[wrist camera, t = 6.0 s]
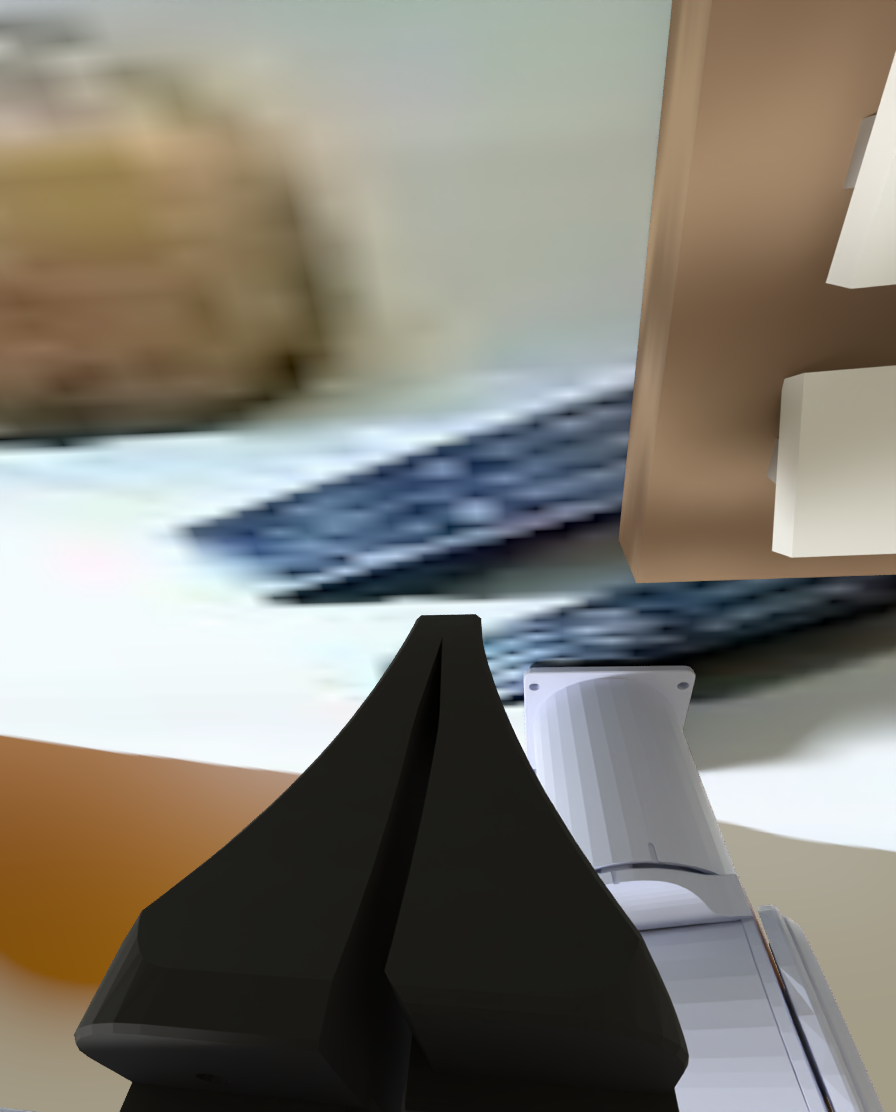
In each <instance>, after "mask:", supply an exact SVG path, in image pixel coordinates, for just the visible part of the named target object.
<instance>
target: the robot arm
mask: <svg viewBox="0 0 896 1112" xmlns="http://www.w3.org/2000/svg"><path fill="white" fill-rule="evenodd" d="M682 682H683V683H682ZM694 682H695V673H694V671H693V669H692V668H691V667H689V666H616V667H537V668H529V669H527V670H526V671H525V672H524V706H525V741H526V755H525V753H524V751H523V749H522V747H521V745H520V743H519V741H518V739H517V737H516V734H515V732H514V730H513V728H512V726H511V723H510V721H509V719H508V716H507V714H506V712H505V709H504V707H503V705H502V702H501V699H500V697H499V694H498V692H497V689H496V686H495V683H494V680H493V677H492V674H491V671H490V668H489V665H488V662H487V658H486V654H485V650H484V646H483V639H482V626H481V618H480V617H478V616H477V615H476V614H465V615H421V616H420V617H419V618H418V619H417V620H416V622H415V624H414V626H413V628H412V629H411V631H410V633H409V635H408V637H407V638H406V640H405V642H404V643H403V645H402V647H401V648H400V650H399V651H398V653H397V655H396V656H395V658H394V659H393V661H392V663H391V664H390V665H389V667H388V668H387V670H386V671H385V673H384V674H383V676H382V677H381V679H380V680H379V682H378V683H377V685H376V686H375V688H374V689H373V690H372V692H371V693H370V694H369V696H368V697H367V698H366V700H365V701H364V702H363V704H362V705H361V706H360V708H359V709H358V710H357V712H356V713H355V714H354V716H353V717H352V718H351V719H350V721H349V722H348V723H347V724H346V726H345V727H344V728H343V729H342V730H341V732H340V733H339V734H338V735H337V736H336V738H335V739H334V740H333V741H332V742H331V743H330V744H329V746H328V747H327V748H326V749H325V750H324V751H323V752H322V753H321V755H320V756H319V757H318V758H317V759H316V760H315V761H314V762H313V763H312V764H311V765H310V766H309V767H308V768H307V769H306V770H305V771H304V772H303V774H302V775H301V776H300V777H299V778H298V779H297V780H296V781H295V782H294V783H293V784H292V785H291V786H290V787H289V788H288V789H287V790H286V791H285V792H284V793H283V794H282V795H281V796H280V797H279V798H278V799H277V800H275V801H274V802H273V803H272V804H271V805H270V806H269V807H268V808H267V809H266V810H265V811H264V812H262V813H261V814H260V815H259V816H258V817H257V818H256V819H254V820H253V821H252V822H251V823H250V824H249V825H248V826H247V827H245V828H244V829H243V830H242V831H241V832H240V833H239V834H238V835H236V836H235V837H234V838H233V839H232V840H231V841H230V842H229V843H227V844H226V845H225V846H224V847H223V848H222V849H220V850H219V851H218V852H217V853H216V854H214V855H213V856H212V857H211V858H209V859H208V860H207V861H206V862H204V863H203V864H202V865H201V866H199V867H198V868H197V869H196V870H194V871H193V872H192V873H190V874H189V875H188V876H187V877H185V878H184V879H183V880H181V881H180V882H179V883H178V884H176V885H175V886H174V887H173V888H171V889H170V890H169V891H168V892H166V893H165V894H164V895H162V896H161V897H160V898H159V899H157V900H156V901H154V902H153V903H152V904H151V905H149V906H148V907H146V908H145V909H144V910H142V912H141V913H140V915H139V917H138V918H137V920H136V922H135V924H134V925H133V927H132V928H131V930H130V932H129V933H128V935H127V936H126V938H125V939H124V941H123V943H122V945H121V947H120V948H119V950H118V952H117V954H116V956H115V958H114V960H113V961H112V964H111V965H110V967H109V969H108V971H107V973H106V975H105V977H104V979H103V980H102V982H101V984H100V987H99V988H98V990H97V992H96V994H95V996H94V998H93V999H92V1001H91V1003H90V1005H89V1007H88V1009H87V1011H86V1013H85V1015H84V1017H83V1018H82V1020H81V1022H80V1024H79V1026H78V1028H77V1030H76V1032H75V1034H74V1036H75V1041H76V1044H77V1046H78V1048H79V1050H80V1051H81V1052H83V1053H84V1054H86V1055H87V1056H88V1057H90V1058H91V1059H93V1060H95V1061H97V1062H98V1063H100V1064H102V1065H104V1066H106V1067H107V1068H109V1069H111V1070H113V1071H114V1072H116V1073H118V1074H119V1075H121V1076H123V1077H125V1078H126V1079H128V1080H130V1081H132V1085H131V1087H130V1089H129V1091H128V1094H127V1096H126V1098H125V1101H124V1103H123V1105H122V1107H121V1110H120V1112H884V1110H883V1108H882V1106H881V1103H880V1101H879V1098H878V1096H877V1094H876V1091H875V1089H874V1087H873V1084H872V1082H871V1080H870V1077H869V1075H868V1073H867V1070H866V1068H865V1066H864V1064H863V1062H862V1059H861V1057H860V1055H859V1052H858V1050H857V1048H856V1046H855V1043H854V1041H853V1039H852V1036H851V1034H850V1032H849V1030H848V1027H847V1025H846V1023H845V1020H844V1018H843V1016H842V1014H841V1011H840V1010H839V1007H838V1005H837V1002H836V1000H835V998H834V996H833V993H832V991H831V989H830V987H829V985H828V983H827V980H826V978H825V976H824V974H823V971H822V969H821V967H820V965H819V963H818V961H817V959H816V956H815V954H814V952H813V950H812V948H811V946H810V944H809V941H808V939H807V938H806V935H805V934H804V932H803V930H802V928H801V926H800V925H799V924H797V923H796V922H794V921H793V920H791V919H790V918H789V917H787V916H785V915H781V913H780V911H779V910H778V908H777V907H776V906H774V905H761V906H757V909H758V912H759V915H760V918H761V921H762V923H763V926H764V929H765V932H766V934H767V937H768V939H769V942H770V943H769V946H770V949H771V952H772V954H771V952H770V949H769V947H768V944H767V942H766V939H765V936H764V934H763V931H762V928H761V926H760V924H759V921H758V919H757V917H756V915H755V912H754V910H753V908H752V906H751V903H750V901H749V899H748V897H747V894H746V892H745V890H744V888H743V885H742V883H741V881H740V879H739V877H738V876H737V874H736V871H735V868H734V865H733V863H732V860H731V858H730V855H729V852H728V850H727V847H726V844H725V842H724V839H723V836H722V834H721V831H720V829H719V826H718V823H717V821H716V818H715V815H714V813H713V810H712V807H711V805H710V802H709V799H708V797H707V794H706V792H705V789H704V786H703V784H702V781H701V778H700V776H699V773H698V770H697V768H696V765H695V763H694V760H693V757H692V755H691V752H690V749H689V747H688V744H687V741H686V739H685V736H684V734H683V727H684V723H685V719H686V715H687V711H688V706H689V702H690V698H691V694H692V690H693V686H694ZM534 683H535V685H532V684H534ZM679 683H680V684H679ZM772 955H773V957H774V960H775V962H774V960H773V957H772ZM775 963H776V965H777V967H776V965H775ZM777 968H778V970H777ZM778 971H779V973H778ZM779 974H780V975H779ZM780 976H781V978H780ZM781 979H782V980H781ZM782 982H783V983H782ZM783 984H784V985H783ZM784 987H785V988H784ZM827 1097H828V1098H827ZM828 1100H829V1101H828ZM829 1102H830V1103H829ZM830 1105H831V1106H830ZM831 1107H832V1109H831ZM832 1110H833V1111H832ZM0 1112H35V1111H26V1110H17V1109H9V1108H1V1107H0Z"/></svg>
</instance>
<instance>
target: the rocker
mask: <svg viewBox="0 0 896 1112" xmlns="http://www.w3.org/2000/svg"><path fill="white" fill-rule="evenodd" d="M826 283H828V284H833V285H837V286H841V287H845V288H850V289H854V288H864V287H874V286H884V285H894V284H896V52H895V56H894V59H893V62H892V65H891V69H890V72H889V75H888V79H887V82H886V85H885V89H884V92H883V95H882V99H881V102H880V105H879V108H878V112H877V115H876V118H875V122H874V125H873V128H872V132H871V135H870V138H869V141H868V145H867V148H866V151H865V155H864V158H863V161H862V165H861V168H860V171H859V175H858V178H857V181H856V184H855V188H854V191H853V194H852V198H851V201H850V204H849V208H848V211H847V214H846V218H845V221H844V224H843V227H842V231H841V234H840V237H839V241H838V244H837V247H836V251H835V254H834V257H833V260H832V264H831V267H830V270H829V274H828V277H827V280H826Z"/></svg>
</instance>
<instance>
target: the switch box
mask: <svg viewBox="0 0 896 1112" xmlns="http://www.w3.org/2000/svg"><path fill="white" fill-rule="evenodd" d="M895 52H896V0H672V10H671V20H670V30H669V40H668V50H667V60H666V70H665V80H664V90H663V100H662V110H661V120H660V130H659V140H658V150H657V160H656V170H655V180H654V190H653V201H652V211H651V221H650V231H649V241H648V251H647V261H646V271H645V281H644V291H643V301H642V311H641V321H640V331H639V341H638V351H637V361H636V371H635V381H634V391H633V401H632V411H631V421H630V431H629V441H628V451H627V461H626V471H625V481H624V491H623V501H622V511H621V521H620V531H619V542H620V544H621V546H622V549H623V551H624V554H625V556H626V559H627V561H628V564H629V566H630V569H631V571H632V573H633V576H634V578H635V581H636V583H653V582H683V581H713V580H743V579H772V578H802V577H832V576H862V575H891V574H896V554H872V555H846V556H820V557H794V558H791V557H788V556H786V555H783V554H780V553H777V552H774V551H772V544H773V527H774V510H775V494H776V477H777V461H778V444H779V428H780V411H781V395H782V387H783V383H784V379H786V378H789V377H792V376H796V375H799V374H803V373H810V372H822V371H834V370H846V369H858V368H871V367H883V366H895V365H896V284H894V285H884V286H874V287H864V288H854V289H850V288H845V287H841V286H837V285H833V284H828V283H826V280H827V277H828V274H829V270H830V267H831V264H832V260H833V257H834V254H835V251H836V247H837V244H838V241H839V237H840V234H841V231H842V227H843V224H844V221H845V218H846V214H847V211H848V208H849V204H850V201H851V198H852V194H853V191H854V188H855V184H856V181H857V178H858V175H859V171H860V168H861V165H862V161H863V158H864V155H865V151H866V148H867V145H868V141H869V138H870V135H871V132H872V128H873V125H874V122H875V118H876V115H877V112H878V108H879V105H880V102H881V99H882V95H883V92H884V89H885V85H886V82H887V79H888V75H889V72H890V69H891V65H892V62H893V59H894V56H895Z"/></svg>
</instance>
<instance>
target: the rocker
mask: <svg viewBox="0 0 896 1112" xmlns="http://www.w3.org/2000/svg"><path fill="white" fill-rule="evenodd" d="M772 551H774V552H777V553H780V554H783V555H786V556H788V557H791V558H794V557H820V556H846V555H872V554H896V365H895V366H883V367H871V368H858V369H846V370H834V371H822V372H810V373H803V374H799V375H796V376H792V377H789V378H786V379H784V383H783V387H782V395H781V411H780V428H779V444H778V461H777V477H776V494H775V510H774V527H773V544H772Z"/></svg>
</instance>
